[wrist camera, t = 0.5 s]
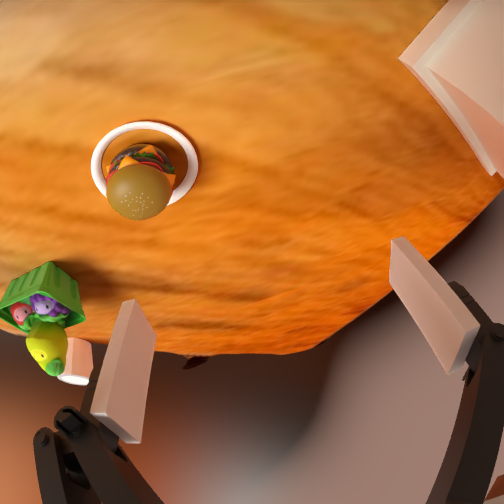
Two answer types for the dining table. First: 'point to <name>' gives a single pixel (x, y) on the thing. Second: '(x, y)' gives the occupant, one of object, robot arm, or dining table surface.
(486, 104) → the plinth
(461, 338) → the robot arm
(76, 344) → the white cup
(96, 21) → the dining table surface
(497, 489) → the walnut bar
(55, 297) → the fruit basket
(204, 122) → the dining table surface
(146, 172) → the hamburger
